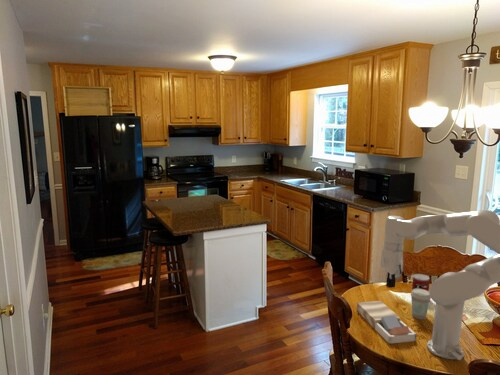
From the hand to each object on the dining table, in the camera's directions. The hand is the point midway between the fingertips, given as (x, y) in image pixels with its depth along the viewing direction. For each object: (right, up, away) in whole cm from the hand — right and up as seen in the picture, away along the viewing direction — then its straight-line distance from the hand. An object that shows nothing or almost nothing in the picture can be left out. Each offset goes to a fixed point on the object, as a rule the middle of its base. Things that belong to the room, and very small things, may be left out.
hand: (390, 286), depth 162 cm
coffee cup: (+18, -17, +13) cm, 28 cm away
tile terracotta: (+1, -16, -5) cm, 17 cm away
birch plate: (-2, -17, +11) cm, 21 cm away
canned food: (+27, -14, +33) cm, 45 cm away
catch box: (+1, -20, -2) cm, 20 cm away
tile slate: (0, -17, 0) cm, 17 cm away
